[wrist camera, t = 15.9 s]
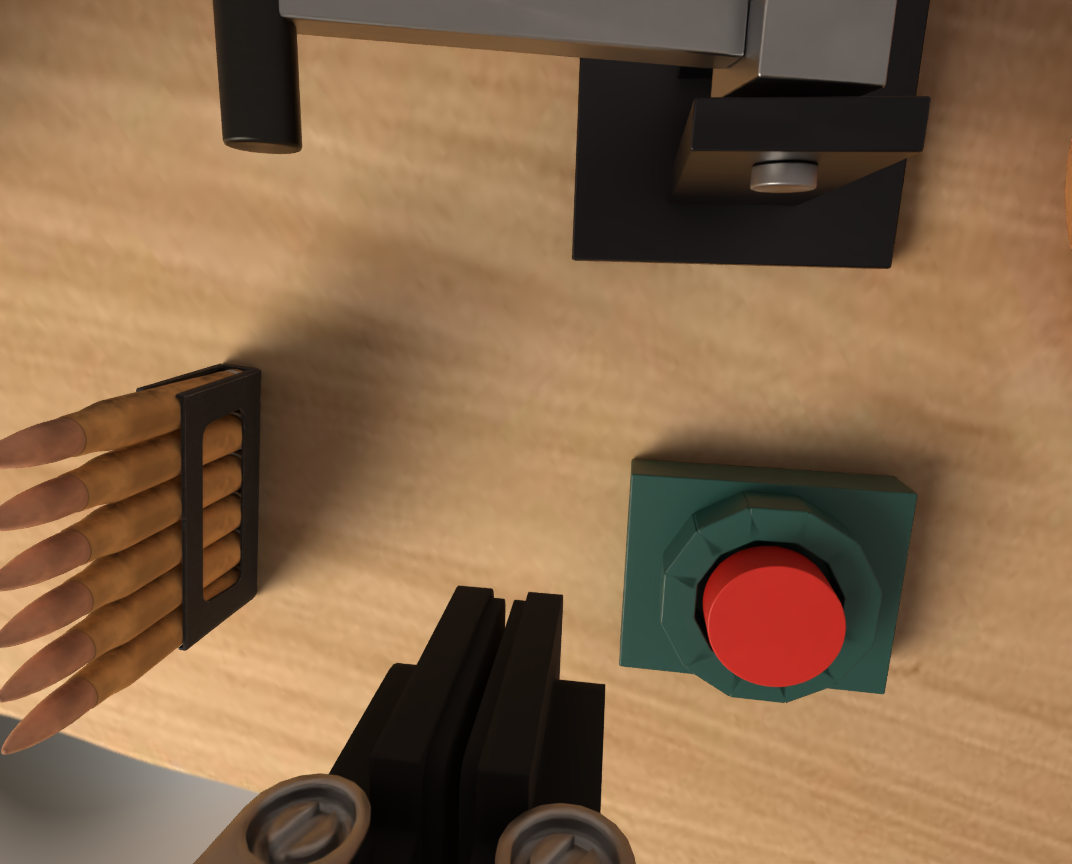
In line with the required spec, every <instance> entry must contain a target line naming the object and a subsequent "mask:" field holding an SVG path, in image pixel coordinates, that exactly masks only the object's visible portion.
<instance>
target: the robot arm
mask: <svg viewBox="0 0 1072 864" xmlns="http://www.w3.org/2000/svg"><path fill="white" fill-rule="evenodd" d="M562 615H563V595H558V594H547V593H536V592H528V595H527V598H526V601H523V600H514V602H513V605H512V608H511V611H510V615H509V618H508V621H507V624H506V627H505V599H501V598H494V592H493V589H491V588H480V587H468V586H458V587H457V588H456V590H455V592H454V594H453V596H452V598H451V599H450V601H449V603H448V605H447V607H446V609H445V611H444V613H443V615H442V617H441V619H440V621H439V623H438V625H437V626H436V628H435V630H434V632H433V634H432V636H431V638H430V640H429V642H428V644H427V646H426V648H425V650H424V652H423V654H422V655H421V657H420V659H419V661H418V663H417V665H412V664H402V663H396V664H393V666H392V667H391V668H390V669H389V671H388V673H387V674H386V676H385V678H384V680H383V681H382V683H381V685H380V686H379V688H378V690H377V692H376V693H375V695H374V697H373V698H372V700H371V702H370V704H369V705H368V707H367V709H366V711H365V712H364V714H363V716H362V717H361V719H360V721H359V723H358V724H357V726H356V728H355V730H354V731H353V733H352V735H351V736H350V738H349V740H348V742H347V743H346V745H345V747H344V748H343V750H342V752H341V754H340V755H339V757H338V759H337V761H336V762H335V764H334V766H333V767H332V769H331V771H330V773H329V774H321V773H320V774H311V775H302V776H298V777H295V778H291V779H288V780H285V781H282V782H279V783H278V784H276V785H274V786H272V787H270V788H269V789H267V790H265V791H263V792H261V793H260V794H259V795H258V796H257V797H256V798H254V799H253V800H252V801H251V802H250V803H249V804H247V805H246V806H245V807H244V808H243V809H242V811H241V812H240V813H239V814H238V815H237V816H236V817H235V818H234V819H233V821H232V822H231V823H230V824H229V825H228V826H227V827H226V828H225V829H224V831H223V832H222V833H221V834H220V835H219V836H218V837H217V838H216V839H215V841H213V843H212V844H211V845H210V846H209V847H208V848H207V849H206V850H205V851H204V852H203V854H202V855H201V856H200V857H199V858H198V859H197V860H196V861H195V862H194V863H193V864H636V862H635V857H634V854H633V852H632V849H631V847H630V844H629V841H628V839H627V838H626V837H625V835H624V834H623V833H622V832H621V830H620V829H619V828H618V827H617V825H616V824H614V823H613V822H612V821H610V820H609V819H607V818H606V817H605V816H603V815H602V814H600V809H601V784H602V759H603V733H604V708H605V684H596V683H587V682H577V681H567V680H559V677H560V656H561V635H562Z"/></svg>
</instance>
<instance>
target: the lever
mask: <svg viewBox="0 0 1072 864" xmlns="http://www.w3.org/2000/svg"><path fill="white" fill-rule="evenodd" d="M896 5H897V0H213V10H214V24H215V38H216V52H217V66H218V80H219V93H220V107H221V121H222V135H223V141H224V143H225V145H227V146H229V147H231V148H234V149H238V150H243V151H249V152H257V153H268V154H291V153H296V152H299V151H301V149H302V132H301V111H300V90H299V69H298V48H297V34H302V35H314V36H326V37H338V38H350V39H362V40H374V41H387V42H399V43H411V44H423V45H435V46H447V47H459V48H471V49H483V50H495V51H507V52H519V53H531V54H544V55H556V56H568V57H580V58H592V59H604V60H616V61H628V62H640V63H652V64H664V65H676V66H688V67H701V68H713V79H712V91H711V97H858V96H863V95H865V94H868V93H870V92H873V91H875V90H878V89H881V88H883V87H884V86H885V85H886V79H887V72H888V64H889V57H890V50H891V42H892V35H893V27H894V20H895V13H896Z"/></svg>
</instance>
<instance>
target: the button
mask: <svg viewBox="0 0 1072 864" xmlns="http://www.w3.org/2000/svg"><path fill="white" fill-rule="evenodd" d="M703 611H704V617H705V622H706V627H707V632H708V637H709V641H710V644H711V646H712V649H713V651H714V653H715V654H716V656H717V658H718V659H719V660H720V661H721V663H722V664H723V665H724V666H725V667H726V668H727V669H729V670H730V671H731V672H732V673H734V674H735V675H737V676H739V677H740V678H742V679H744V680H746V681H749V682H751V683H755V684H758V685H763V686H769V687H784V686H791V685H796V684H800V683H803V682H805V681H808V680H810V679H812V678H814V677H816V676H817V675H819V674H820V673H822V672H823V671H824V670H826V669H827V668H828V667H829V666H830V665H831V664H832V662H833V661H834V660H835V658H836V657H837V655H838V654H839V652H840V650H841V648H842V645H843V642H844V638H845V634H846V618H845V614H844V610H843V607H842V605H841V602H840V600H839V599H838V597H837V595H836V594H835V592H834V590H833V589H832V587H831V586H830V584H829V582H828V581H827V579H826V577H825V576H824V574H823V573H822V571H821V570H820V569H819V568H818V567H817V566H816V565H815V564H814V563H813V562H812V561H811V560H810V559H808V558H807V557H805V556H804V555H802V554H800V553H798V552H796V551H793V550H791V549H787V548H784V547H778V546H756V547H751V548H747V549H744V550H741V551H739V552H737V553H735V554H733V555H731V556H730V557H728V558H727V559H725V560H724V561H723V562H722V563H721V564H719V565H718V567H717V568H716V569H715V570H714V571H713V573H712V574H711V576H710V577H709V579H708V582H707V584H706V587H705V590H704V595H703Z"/></svg>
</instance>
